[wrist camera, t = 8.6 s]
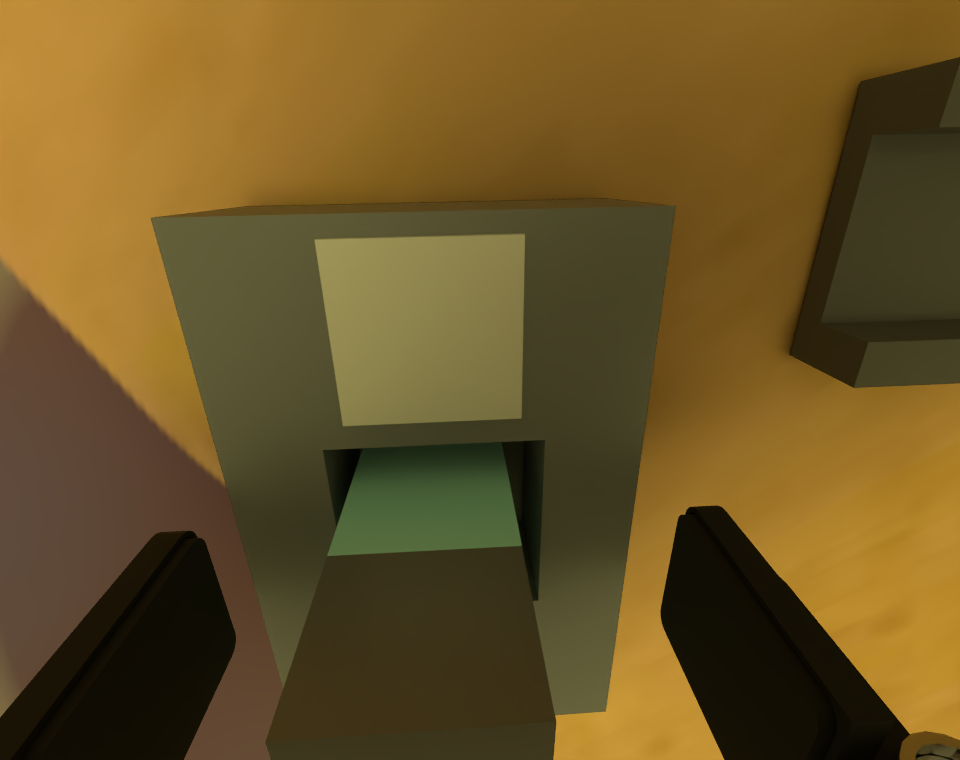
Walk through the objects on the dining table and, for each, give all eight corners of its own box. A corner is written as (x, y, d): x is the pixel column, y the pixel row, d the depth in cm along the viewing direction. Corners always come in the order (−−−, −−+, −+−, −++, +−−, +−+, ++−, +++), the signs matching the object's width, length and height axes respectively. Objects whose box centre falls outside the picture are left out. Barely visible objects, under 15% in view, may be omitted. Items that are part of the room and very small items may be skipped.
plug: (371, 422, 13) (265, 741, 6) (497, 417, 13) (556, 721, 6) (383, 523, 14) (311, 886, 7) (496, 517, 14) (544, 865, 7)
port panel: (246, 206, 11) (143, 219, 8) (605, 198, 12) (680, 206, 8) (329, 614, 17) (293, 742, 13) (572, 599, 17) (607, 718, 14)
